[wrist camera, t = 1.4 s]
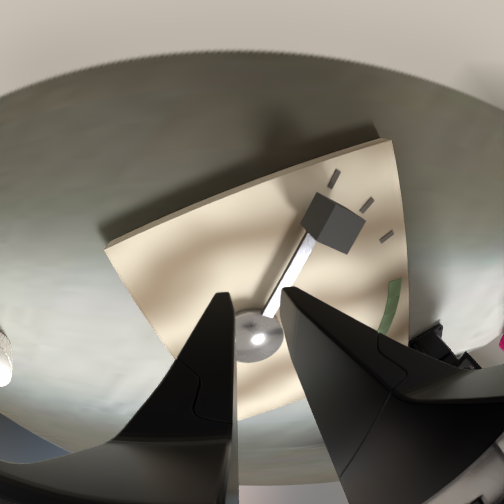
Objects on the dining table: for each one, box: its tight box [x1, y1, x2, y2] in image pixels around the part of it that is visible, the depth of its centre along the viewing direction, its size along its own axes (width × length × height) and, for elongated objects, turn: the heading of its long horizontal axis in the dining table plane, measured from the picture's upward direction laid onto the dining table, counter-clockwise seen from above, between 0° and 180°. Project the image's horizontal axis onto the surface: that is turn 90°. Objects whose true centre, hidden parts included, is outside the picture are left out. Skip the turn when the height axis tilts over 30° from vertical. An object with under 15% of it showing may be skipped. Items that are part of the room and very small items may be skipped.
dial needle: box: [235, 192, 366, 363], centre depth 21 cm, size 15×5×4 cm, turn 154°
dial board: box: [104, 138, 409, 421], centre depth 25 cm, size 23×22×2 cm
